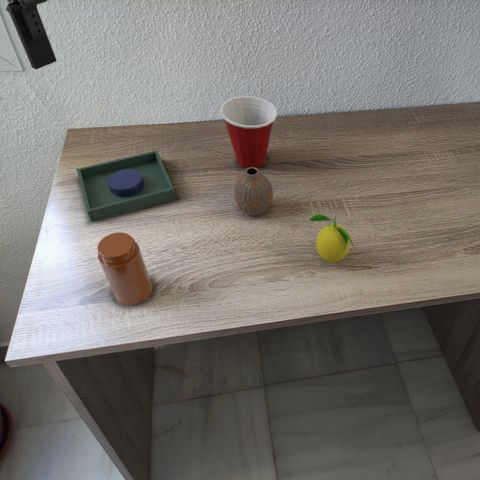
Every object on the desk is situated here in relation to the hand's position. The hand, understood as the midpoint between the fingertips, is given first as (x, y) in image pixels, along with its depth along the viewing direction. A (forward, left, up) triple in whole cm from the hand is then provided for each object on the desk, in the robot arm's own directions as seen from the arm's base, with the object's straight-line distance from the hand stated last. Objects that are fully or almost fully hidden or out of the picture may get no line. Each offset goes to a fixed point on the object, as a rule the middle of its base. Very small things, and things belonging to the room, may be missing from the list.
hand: (9, 48), depth 57 cm
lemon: (+35, -22, -33) cm, 53 cm away
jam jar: (+4, -15, -33) cm, 36 cm away
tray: (+8, +10, -33) cm, 35 cm away
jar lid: (+8, +10, -31) cm, 33 cm away
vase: (+28, -5, -33) cm, 43 cm away
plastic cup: (+33, +9, -33) cm, 47 cm away
